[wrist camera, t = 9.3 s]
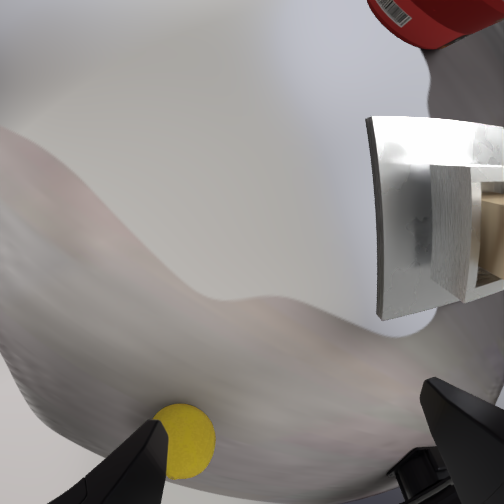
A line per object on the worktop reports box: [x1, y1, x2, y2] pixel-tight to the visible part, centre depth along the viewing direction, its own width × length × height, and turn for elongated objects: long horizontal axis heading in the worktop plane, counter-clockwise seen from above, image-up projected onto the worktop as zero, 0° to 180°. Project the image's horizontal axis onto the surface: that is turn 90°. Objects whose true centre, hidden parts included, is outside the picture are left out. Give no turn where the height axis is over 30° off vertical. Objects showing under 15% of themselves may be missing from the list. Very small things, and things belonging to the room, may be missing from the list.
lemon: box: [153, 404, 216, 480], centre depth 19 cm, size 6×6×8 cm
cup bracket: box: [365, 116, 504, 321], centre depth 15 cm, size 14×14×6 cm
